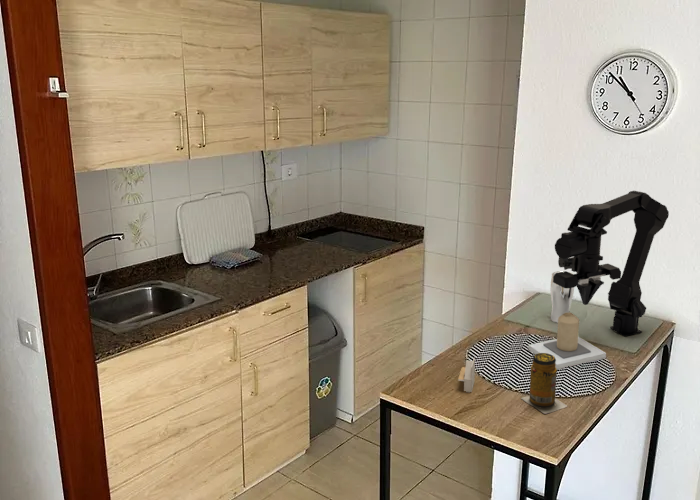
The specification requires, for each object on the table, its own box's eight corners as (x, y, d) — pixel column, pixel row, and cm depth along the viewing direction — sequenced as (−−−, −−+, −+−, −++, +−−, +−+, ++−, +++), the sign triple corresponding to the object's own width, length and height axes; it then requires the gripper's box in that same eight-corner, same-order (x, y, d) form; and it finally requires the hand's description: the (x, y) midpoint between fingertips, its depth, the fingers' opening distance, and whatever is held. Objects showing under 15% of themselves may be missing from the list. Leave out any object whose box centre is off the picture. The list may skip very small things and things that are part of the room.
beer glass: (575, 323, 201) (578, 278, 197) (552, 324, 202) (554, 279, 197) (568, 314, 208) (570, 270, 203) (546, 315, 208) (548, 271, 204)
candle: (578, 352, 179) (580, 318, 176) (557, 351, 180) (559, 317, 177) (576, 343, 184) (578, 310, 181) (555, 342, 185) (557, 310, 182)
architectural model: (457, 392, 166) (458, 366, 164) (461, 379, 173) (462, 354, 170) (471, 394, 165) (471, 367, 163) (474, 380, 172) (475, 355, 169)
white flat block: (575, 339, 191) (575, 333, 190) (605, 358, 179) (606, 351, 179) (528, 349, 186) (528, 343, 185) (556, 369, 174) (557, 362, 174)
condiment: (543, 391, 164) (545, 348, 161) (567, 406, 157) (570, 362, 153) (520, 399, 161) (522, 355, 158) (544, 415, 154) (546, 369, 150)
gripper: (597, 239, 188) (593, 289, 193) (542, 248, 182) (539, 300, 187) (624, 249, 178) (619, 302, 183) (567, 259, 172) (564, 314, 177)
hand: (585, 304), depth 183 cm, fingers closed
